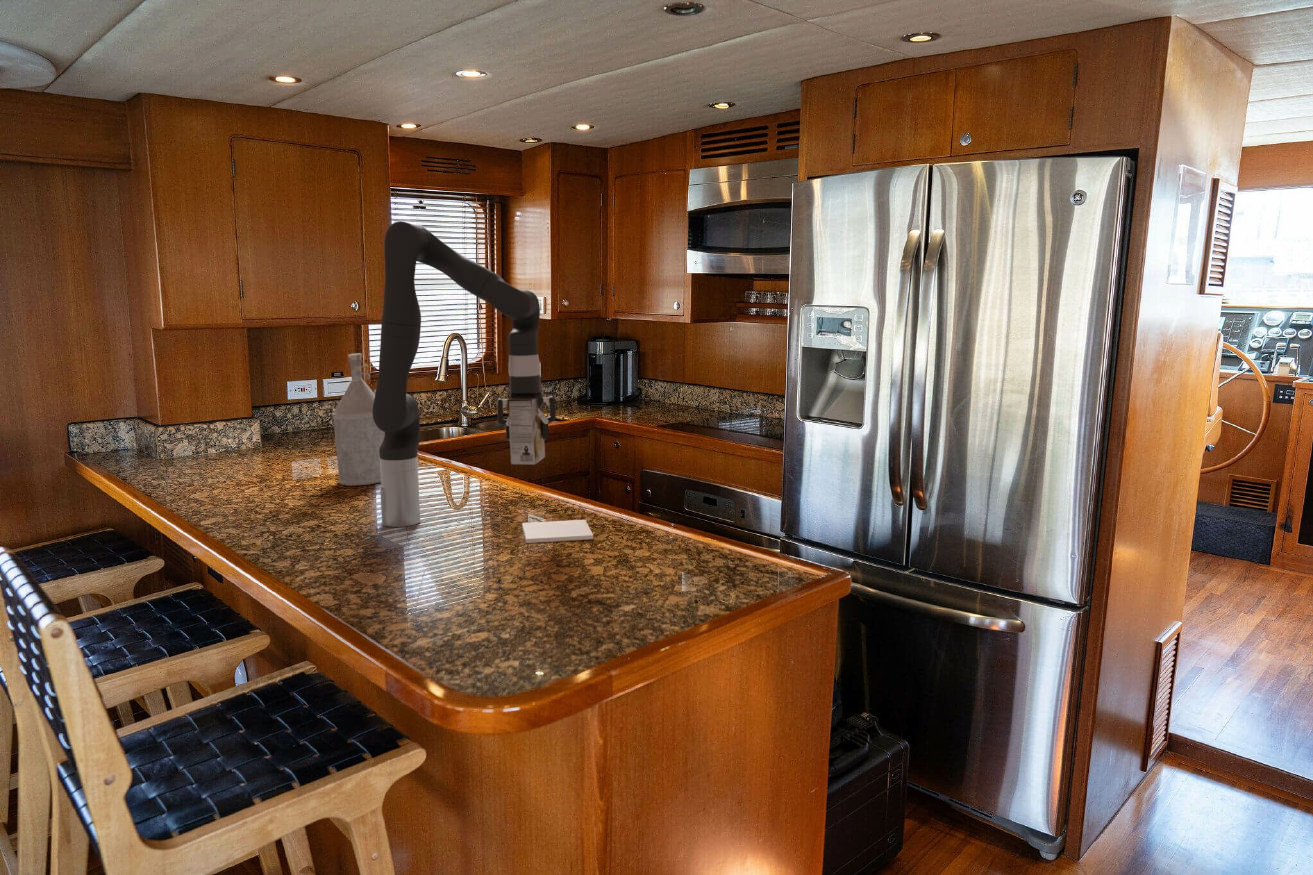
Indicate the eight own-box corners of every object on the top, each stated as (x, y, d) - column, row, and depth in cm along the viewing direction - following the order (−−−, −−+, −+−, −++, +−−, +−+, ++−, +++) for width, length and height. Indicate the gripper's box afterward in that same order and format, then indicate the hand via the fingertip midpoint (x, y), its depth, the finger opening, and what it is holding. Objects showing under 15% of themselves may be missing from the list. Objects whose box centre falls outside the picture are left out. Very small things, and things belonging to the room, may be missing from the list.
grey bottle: (402, 479, 269) (395, 352, 261) (351, 489, 256) (343, 355, 248) (379, 473, 277) (373, 350, 270) (329, 482, 264) (321, 353, 257)
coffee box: (521, 457, 217) (518, 393, 214) (545, 457, 216) (543, 394, 213) (510, 464, 208) (507, 398, 205) (535, 464, 207) (533, 398, 204)
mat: (526, 543, 204) (526, 538, 203) (522, 526, 217) (522, 523, 217) (593, 539, 207) (593, 535, 207) (585, 523, 220) (585, 519, 220)
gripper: (495, 376, 203) (498, 444, 206) (555, 373, 206) (558, 440, 209) (494, 373, 210) (497, 438, 213) (552, 370, 213) (555, 435, 216)
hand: (527, 439), depth 211 cm, fingers closed on coffee box, 8 cm apart
